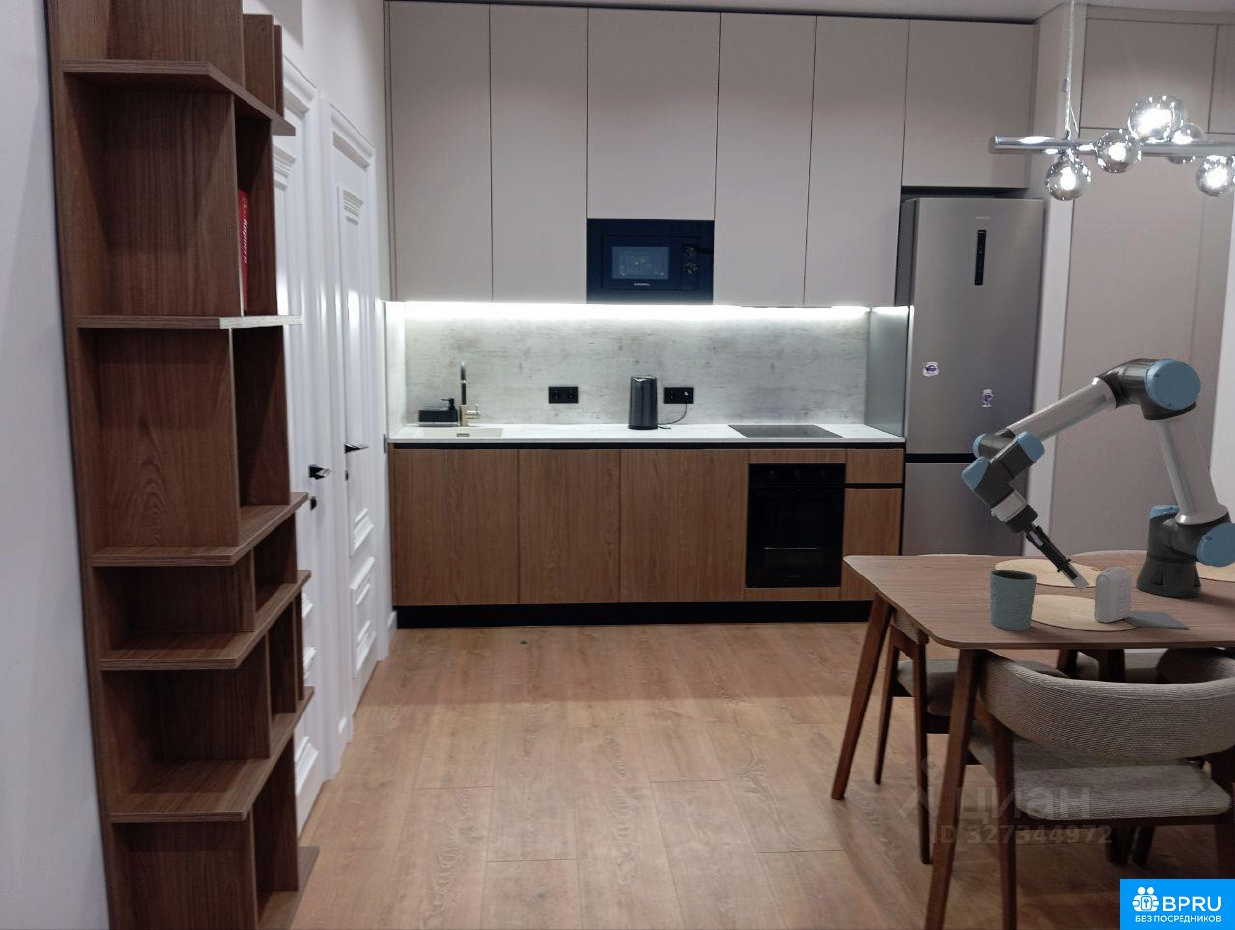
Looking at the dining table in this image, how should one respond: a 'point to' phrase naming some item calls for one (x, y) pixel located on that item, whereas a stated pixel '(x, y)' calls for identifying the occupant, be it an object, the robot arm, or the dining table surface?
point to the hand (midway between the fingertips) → (1084, 587)
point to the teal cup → (1012, 599)
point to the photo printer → (1113, 594)
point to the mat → (1154, 620)
